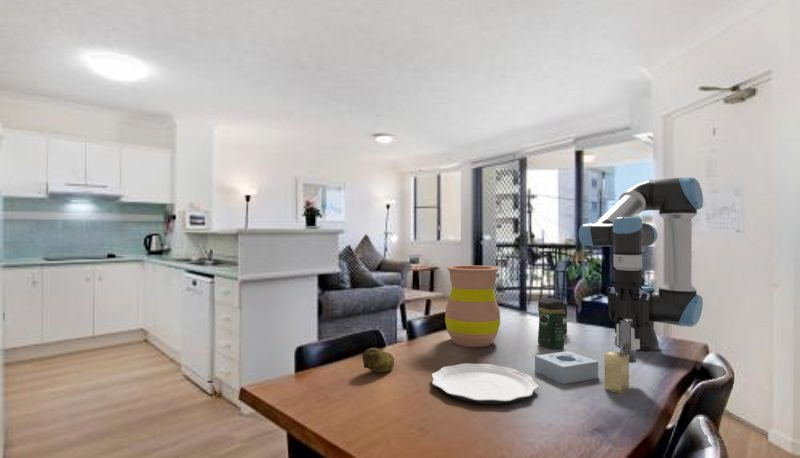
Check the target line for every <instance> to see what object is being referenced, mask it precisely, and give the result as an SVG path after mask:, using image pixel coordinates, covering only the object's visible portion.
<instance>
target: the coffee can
mask: <svg viewBox="0 0 800 458" xmlns="http://www.w3.org/2000/svg"><path fill="white" fill-rule="evenodd" d="M561 301H562V302H563V303H564V313H563V332H564V337H567V336H568V304H569V303H568V302H567V301H563V300H561Z"/></svg>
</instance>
